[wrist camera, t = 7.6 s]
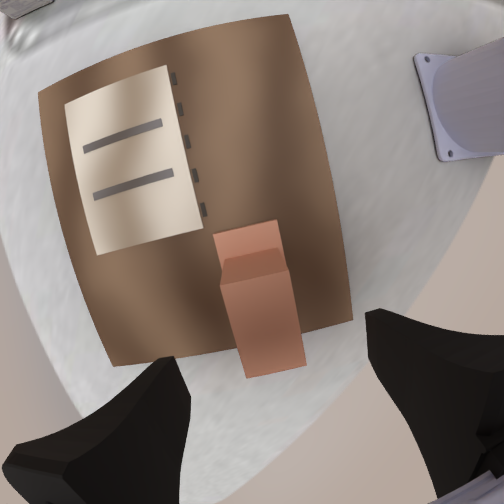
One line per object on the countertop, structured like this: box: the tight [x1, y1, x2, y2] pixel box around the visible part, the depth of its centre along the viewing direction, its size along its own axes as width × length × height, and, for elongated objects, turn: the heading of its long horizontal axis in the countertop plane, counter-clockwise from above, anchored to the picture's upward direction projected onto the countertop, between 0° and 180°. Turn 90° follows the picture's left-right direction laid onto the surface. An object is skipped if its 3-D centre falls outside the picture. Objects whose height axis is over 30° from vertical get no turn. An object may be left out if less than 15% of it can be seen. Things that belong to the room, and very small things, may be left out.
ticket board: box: [38, 14, 353, 367], centre depth 18 cm, size 17×20×2 cm
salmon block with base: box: [213, 219, 307, 378], centre depth 16 cm, size 4×8×5 cm, turn 13°
